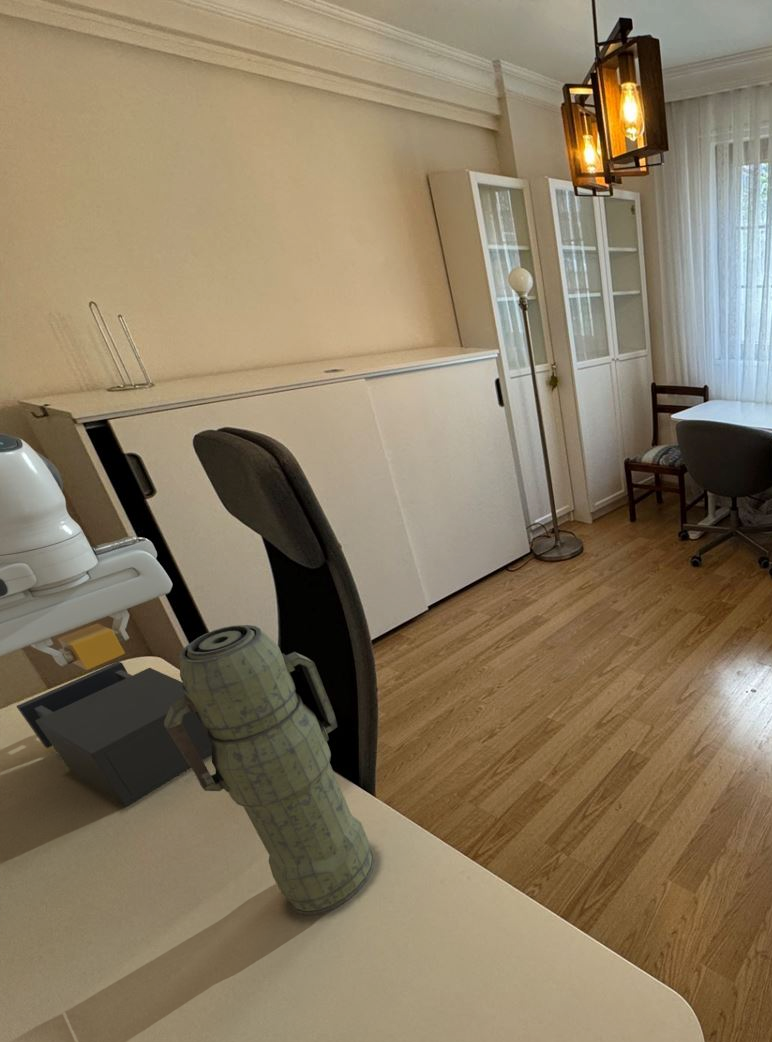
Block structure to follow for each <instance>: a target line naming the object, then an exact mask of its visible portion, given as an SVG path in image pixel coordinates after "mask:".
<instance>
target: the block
mask: <svg viewBox="0 0 772 1042" xmlns="http://www.w3.org/2000/svg"><path fill="white" fill-rule="evenodd" d="M111 629H112V628H109V627H106V626H104V625H102V624H100V623H94V624H92V625H89V626H87V627H83V628H82V629H79V630H76V631H74V632H71V633H68V634H66V635H63V636H61V637H58V638H57V640H58V642H59V644H60V646H61V647H62V648H65V647H66V648H68V649H70V650H72V652H73V653H74V656H75V657H76V658H77V661H74V662H72V663H71V664H74V665H75V666H78V667H80V668H81V669H83V670H86V671H88V670H91V669H92V668H95V667H98V666H100V665H102V664H104V663H107V662H109V661H111V660H114V659H116V658H118V657H119V658H120V656H123V655H125V654H126V652H125V650H124V648H123V647H122V645H121V643H119V641H118V640H117V638H116V636H115V634H114V632H113V630H111Z"/></svg>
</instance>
